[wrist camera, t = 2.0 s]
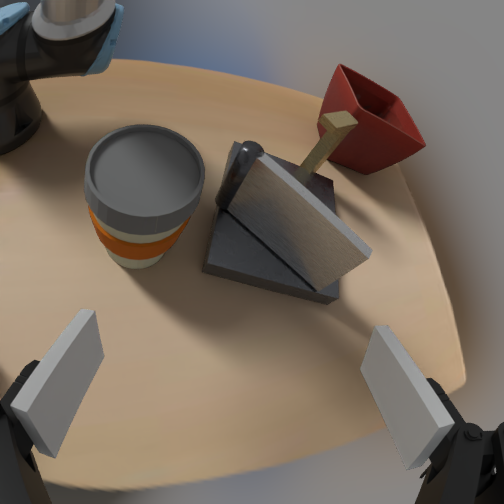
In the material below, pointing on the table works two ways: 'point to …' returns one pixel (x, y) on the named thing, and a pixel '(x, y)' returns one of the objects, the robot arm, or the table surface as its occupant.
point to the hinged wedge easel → (289, 218)
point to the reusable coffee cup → (142, 191)
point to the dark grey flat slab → (256, 251)
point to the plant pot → (369, 123)
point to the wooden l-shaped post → (329, 138)
